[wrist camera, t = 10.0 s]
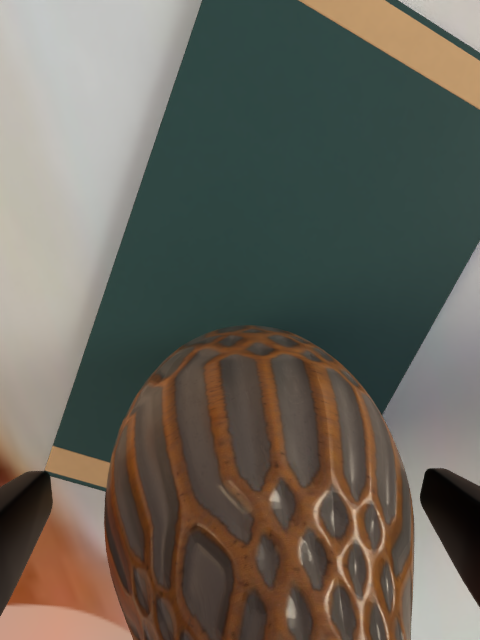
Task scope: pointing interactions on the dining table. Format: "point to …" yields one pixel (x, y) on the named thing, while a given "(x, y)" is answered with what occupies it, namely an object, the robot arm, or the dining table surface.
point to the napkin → (290, 202)
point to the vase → (258, 498)
